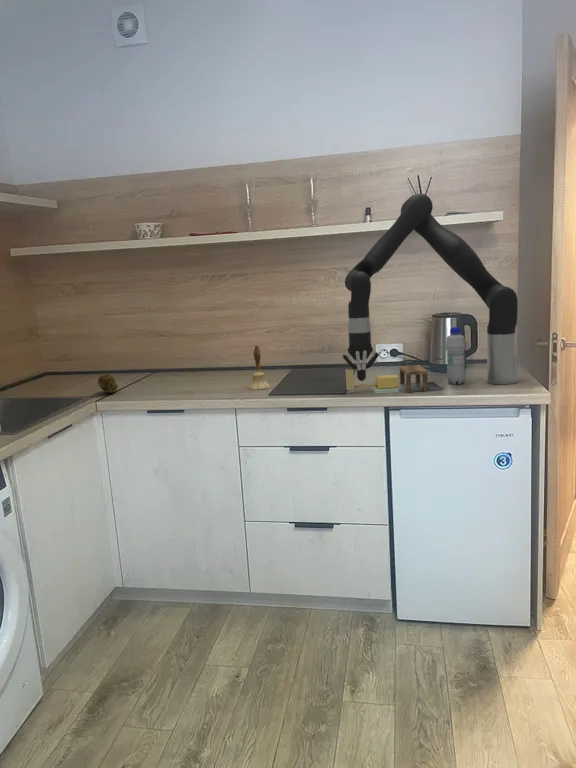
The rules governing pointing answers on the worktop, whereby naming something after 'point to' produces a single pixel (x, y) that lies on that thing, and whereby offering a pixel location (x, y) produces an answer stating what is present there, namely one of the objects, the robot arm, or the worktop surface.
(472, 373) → the worktop surface
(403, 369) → the small wooden table
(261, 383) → the hand bell
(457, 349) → the bottle
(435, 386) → the pit
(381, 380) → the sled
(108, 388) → the potato
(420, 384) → the track
